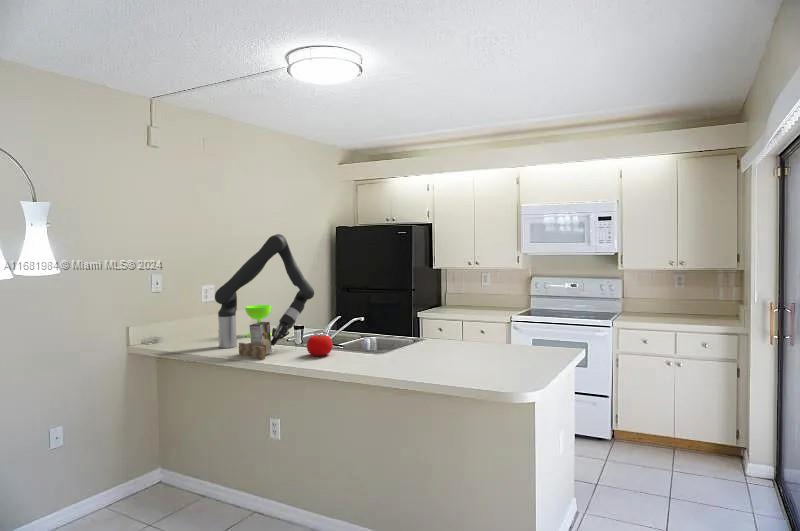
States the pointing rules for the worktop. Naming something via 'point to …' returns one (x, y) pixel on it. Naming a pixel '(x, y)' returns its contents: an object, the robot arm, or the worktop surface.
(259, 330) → the coffee box
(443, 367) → the worktop surface
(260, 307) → the wineglass
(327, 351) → the tomato
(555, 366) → the worktop surface
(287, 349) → the worktop surface
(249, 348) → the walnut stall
